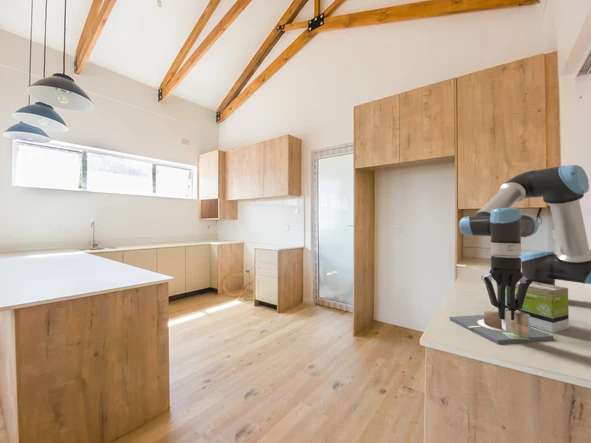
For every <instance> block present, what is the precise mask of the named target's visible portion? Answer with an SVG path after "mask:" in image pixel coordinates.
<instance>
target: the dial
mask: <svg viewBox="0 0 591 443" xmlns="http://www.w3.org/2000/svg"><path fill="white" fill-rule="evenodd" d="M483 315H484V323H485V324H486V325H488V326H491V327H495V328H501V329H503V328H502V319H500V318H499V316H498V311H493V310H492V311H491V310H490V311H489V310H487V311H484V312H483ZM528 316H530V315H529V314H526V313H523V312H521V311H518V310H516V311H514V320H511V332H512V333H515V334H517V335H519V336H521V337H529V327H530V326H529V318H528Z"/></svg>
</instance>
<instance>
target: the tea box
mask: <svg viewBox="0 0 591 443" xmlns="http://www.w3.org/2000/svg"><path fill="white" fill-rule="evenodd" d="M519 284H520V280H519V281H518V282H517V284H516V289H515V298H516V294H517V291H518V287H519ZM505 308H507V287H506V289H505ZM507 309H508V308H507ZM516 310H518V311H521V312H523V313H526V314H529V315H530V316H528V318H529V327H531V328H534V329H537V330H540V331H543V332H547V331H548V333H550V332H551V334H556V333H558V331H559V332H561V331H565V330H567V329H569V322H570V321H569V320H570V318H569V317H570V316H569V314H570V313H569V287H565V286H560V285H555V286H554V285H548V284H543V283H537V282H532V283H531V284H530V285H529V287H528V289H527V293H526V296H525V299H524V303H523V306H522V309H516Z"/></svg>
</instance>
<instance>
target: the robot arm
mask: <svg viewBox="0 0 591 443" xmlns="http://www.w3.org/2000/svg"><path fill="white" fill-rule="evenodd" d="M589 189H590V185H589V178H588V175H587V173H586V171H585V170H584V168H583V167H582V166H580V165H577V164H570V165H560V166H555V167H548V168H547V167H546V168H542V169H536V170H528V171H525V172H523V173H520V174H517V175H515V176H514V177H512V178H510V179H508V180H507V181H505V182H504V183H503V184H501V186H500V187H499V188H498V192H497V193H496V194H495V195H493V197H491V199H490V200H489V201H488V202H486V203H485V205H483V206H482V207H481V208H480V209H479V210H478V211H477V212H475V214H474V215H471V216H469V215H468V216H463V217H462V218H461V219H460V220H459V222H458V223H459V224H458V227H459V230H460V233H461V234H462V235H464V236H471V237H472V236H473V237H490V254H491V256H490V270H489V273H488V274H486V275H481V280H482V281H483V283H484V284H485V286H486V287H485V288H486V290H487V294H488V297H489V300H490V304H491V306H493V307H495V308H497V310H498V311H497V312H498V316H499V318H500V319H502V328H503V329H504V330H505V331H510V332H511V320H514V311H516V309H522V306H523V303H524V299H525V296H526V293H527V289H528V287H529V285H530V284H531V283H532V282H537V283H543V284H548V285H554V286H556V281H557V280H558V281H564V282H571V283H580V284H583V285H584V284H587V285H591V249H590V247H589V241H588V237H587V232H586V227H585V226H586V225H585V221H584V217H583V213H582V207H581V202H580V201H581V200H582V199H583V198H584V196H585V194H586V193H588V192H589ZM529 198H542V201H543V203H544V204H546V205H549V207H550V208H549V209H550V213H551V216H552V221H553V226H554V230H555V233H556V237H557V242H558V246H559V251H557V253H555V251H554V250H540V251H538V250H537V251H536V250H535V251H525V252H523V253H522V242H521V240H522V238H528V237H531V236H533V235H535V234H536V233H537V232H538V230H539V226H540V225H539V223H538V221H537V220H536V219H535V218H534V217H532V216H530V215H526V214H521V210H520V209H519V208H516V207H514V205H516V203H519V202H521V201H523V200H524V199H529ZM520 256H521V257H520ZM519 280H520V284H519V287H518V291H517V294H516V298H515V289H516V284H517V282H518V281H519ZM492 281H494V282H495V284H496V287H497V289H496V291H497V293H496V292H495V288H494V285H493V283H492ZM506 287H507V308H508V309H507V308H505V289H506ZM496 294H497V295H496Z"/></svg>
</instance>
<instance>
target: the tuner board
mask: <svg viewBox="0 0 591 443" xmlns="http://www.w3.org/2000/svg"><path fill="white" fill-rule="evenodd" d="M449 321H451V322H453V323H455V324H458V326H461V327H463V328H464V329H466V330H468V331H470V332H472V333H475V334H476V335H479V336H481V337H482V338H484V339H487V340H489V341H490V342H491V343H492V342H493V343H494V344H496V345H505V344H515V343H527V342H528V343H529V342H539V341H552V340H554V335H552V334H550V333H547V332H546V331H543V330H540V329H538V328H535V327H532V326H529V337H521V336H519V335H517V334H515V333H512V332H510V331H505V330H504V329H501V328H495V327H491V326H488V325H486V324H485V323H484V314H479V315H478V314H473V315H460V316H459V315H458V316H449Z"/></svg>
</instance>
